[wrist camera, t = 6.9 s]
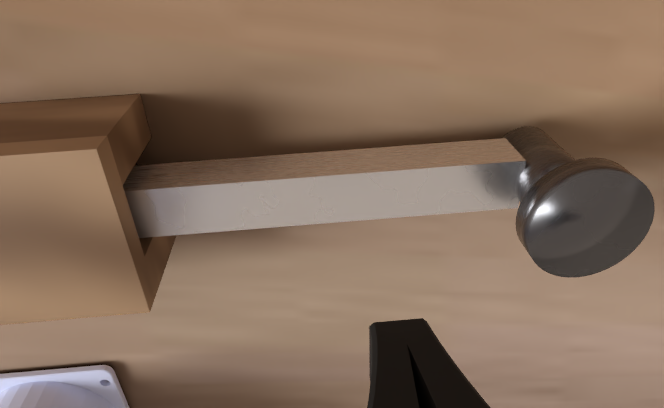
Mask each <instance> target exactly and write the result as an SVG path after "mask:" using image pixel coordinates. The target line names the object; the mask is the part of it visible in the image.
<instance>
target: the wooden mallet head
mask: <svg viewBox="0 0 664 408" xmlns="http://www.w3.org/2000/svg"><path fill="white" fill-rule="evenodd" d="M150 139H151V134H150V130H149V126H148V122H147V118H146V115H145V111H144V107H143V103H142V99H141V95H140V94H131V95H117V96H102V97H88V98H74V99H59V100H45V101H30V102H16V103H2V104H0V325H5V324H17V323H29V322H41V321H52V320H64V319H76V318H87V317H99V316H111V315H123V314H134V313H146V312H150V310H151V307H152V305H153V302H154V299H155V296H156V293H157V290H158V287H159V284H160V281H161V278H162V276H163V273H164V270H165V267H166V264H167V261H168V258H169V255H170V252H171V249H172V247H173V244H174V241H175V238H176V235H172V236H160V237H147V238H139V237H138V234H137V230H136V227H135V224H134V221H133V218H132V214H131V211H130V208H129V205H128V201H127V198H126V195H125V192H124V189H123V184H124V182H125V180H126V179H127V177H128V175H129V174H130V172H131V170H132V169H133V167H134V165H135V164H136V162H137V160H138V159H139V157H140V155H141V154H142V152H143V150H144V149H145V147H146V145H147V144H148V142H149V140H150Z"/></svg>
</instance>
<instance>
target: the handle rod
mask: <svg viewBox="0 0 664 408" xmlns="http://www.w3.org/2000/svg"><path fill="white" fill-rule="evenodd" d="M123 189H124V192H125V195H126V198H127V201H128V205H129V208H130V211H131V214H132V218H133V221H134V224H135V227H136V230H137V234H138V237H139V238H147V237H160V236H172V235H185V234H197V233H210V232H222V231H235V230H247V229H260V228H272V227H285V226H297V225H310V224H323V223H335V222H348V221H360V220H373V219H385V218H398V217H410V216H423V215H435V214H448V213H461V212H473V211H486V210H498V209H511V208H518V204H519V201H520V202H521V204H520V206H519V209H518V212H517V216H516V231H517V235H518V237H519V240H520V241H521V243H522V244H523V246H524V247H525V249H526V250H527V252H528V253H529V255H530V256H531V257H532V259H533V260H534V262H535V263H536V264H537V265H538V266H539V267H540V268H541V269H543V270H544V271H546V272H548V273H550V274H553V275H556V276H561V277H582V276H587V275H592V274H595V273H598V272H601V271H603V270H606V269H608V268H610V267H612V266H614V265H615V264H617V263H618V262H620V261H622V260H623V259H624V258H626V257H627V256H628V255H629V254H630V253H632V252H633V251H634V250H635V249H636V248H637V246H638V245H639V244H640V243H641V242H642V240H643V239H644V238H645V236H646V234H647V233H648V231H649V229H650V226H651V224H652V221H653V217H654V201H653V197H652V194H651V192H650V190H649V189H648V188H647V186H646V185H645V184H644V183H643V182H641V181H640V180H639V179H638V178H636V177H635V176H634V175H633V174H631V173H630V172H629V171H627V170H626V169H625V168H624V167H622V166H621V165H619V164H618V163H616V162H613V161H611V160H607V159H602V158H585V159H579V160H575V159H573V158H572V157H571V156H570V155H569V154H568V153H567V152H566V151H565V150H563V149H562V148H561V147H560V146H559V145H558V144H557V143H556V142H555V141H553V140H552V139H551V138H550V137H549V136H548V135H547V134H546V133H545V132H543V131H542V130H541V129H538V128H536V127H521V128H517V129H515V130H513V131H511V132H509V133H507V134H506V135H505V136H504V137H503V138H500V139H486V140H473V141H459V142H446V143H433V144H419V145H406V146H392V147H379V148H365V149H352V150H339V151H325V152H312V153H298V154H285V155H271V156H258V157H245V158H231V159H218V160H204V161H191V162H178V163H164V164H151V165H137V166H134V167H133V169H132V170H131V172H130V174H129V175H128V177H127V179H126V180H125V182H124V184H123Z"/></svg>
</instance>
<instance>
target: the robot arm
mask: <svg viewBox="0 0 664 408" xmlns="http://www.w3.org/2000/svg"><path fill="white" fill-rule="evenodd" d="M369 329H370V382H371V384H370V393H369V401H368V407H367V408H490V406H489V405H488V404H487V403H486V402H485V401H484V399H483V398H482V397H481V396H480V395H479V393H478V392H477V391H476V390H475V388H474V387H473V386H472V385H471V383H470V382H469V381H468V380H467V378H466V377H465V376H464V375H463V373H462V372H461V371H460V369H459V368H458V367H457V365H456V364H455V363H454V361H453V360H452V359H451V357H450V356H449V355H448V353H447V352H446V350H445V349H444V347H443V346H442V345H441V343H440V342H439V340H438V339H437V337H436V336H435V334H434V333H433V331H432V329H431V328H430V326H429V325H428V323H427V321H425V320H424V319H423V318H422V319H410V320H399V321H387V322H376V323H373V324H372V325H371V326H369ZM0 408H129V406H128V403H127V401H126V398H125V396H124V393H123V391H122V389H121V386H120V384H119V381H118V379H117V377H116V374H115V372H114V370H113V368H111V367H110V366H107V365H96V366H84V367H73V368H62V369H51V370H39V371H28V372H17V373H5V374H0Z"/></svg>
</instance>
